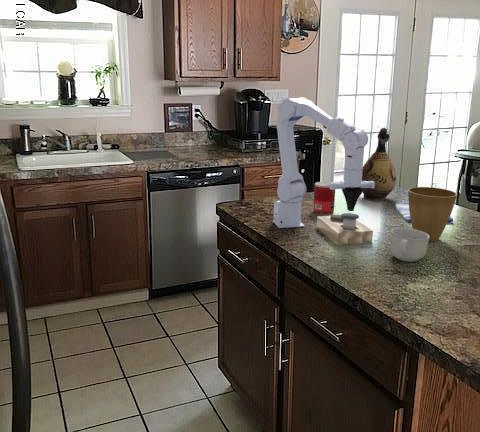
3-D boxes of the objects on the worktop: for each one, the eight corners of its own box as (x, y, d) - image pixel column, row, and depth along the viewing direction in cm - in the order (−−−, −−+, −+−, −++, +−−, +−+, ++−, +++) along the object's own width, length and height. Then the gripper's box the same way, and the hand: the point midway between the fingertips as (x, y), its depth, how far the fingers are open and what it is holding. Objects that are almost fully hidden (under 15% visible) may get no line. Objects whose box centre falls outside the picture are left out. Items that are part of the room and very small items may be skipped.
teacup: (397, 249, 163) (399, 224, 161) (432, 257, 156) (435, 231, 154) (377, 261, 152) (380, 235, 150) (414, 270, 146) (417, 243, 144)
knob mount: (336, 244, 166) (337, 232, 165) (316, 227, 184) (317, 216, 183) (372, 242, 169) (373, 230, 168) (348, 225, 187) (349, 214, 186)
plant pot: (446, 248, 164) (452, 199, 159) (398, 240, 171) (403, 192, 167) (454, 236, 176) (460, 189, 172) (409, 229, 183) (414, 184, 179)
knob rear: (333, 232, 177) (334, 219, 176) (327, 227, 183) (328, 215, 181) (349, 231, 179) (349, 218, 177) (342, 226, 184) (343, 214, 183)
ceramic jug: (395, 203, 217) (402, 131, 209) (357, 201, 220) (362, 129, 212) (392, 194, 234) (398, 126, 225) (357, 192, 236) (362, 125, 228)
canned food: (335, 214, 201) (337, 186, 198) (314, 213, 201) (315, 185, 198) (332, 208, 209) (334, 181, 206) (312, 208, 209) (313, 181, 206)
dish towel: (437, 208, 213) (437, 202, 212) (454, 225, 190) (455, 218, 189) (393, 207, 214) (394, 200, 213) (405, 223, 191) (406, 216, 191)
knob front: (344, 231, 168) (345, 218, 167) (337, 226, 173) (338, 213, 172) (360, 230, 169) (361, 217, 168) (353, 225, 174) (354, 212, 173)
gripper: (336, 171, 161) (333, 214, 164) (380, 170, 164) (376, 212, 167) (328, 167, 167) (325, 208, 171) (370, 166, 170) (367, 206, 174)
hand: (350, 210), depth 170 cm, fingers closed
